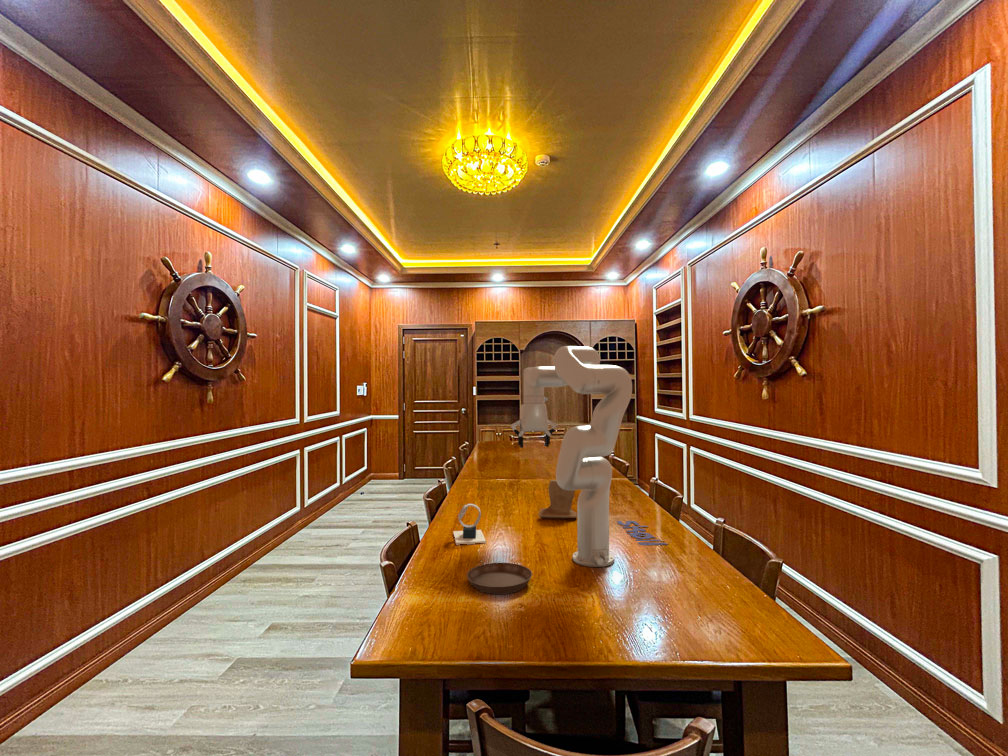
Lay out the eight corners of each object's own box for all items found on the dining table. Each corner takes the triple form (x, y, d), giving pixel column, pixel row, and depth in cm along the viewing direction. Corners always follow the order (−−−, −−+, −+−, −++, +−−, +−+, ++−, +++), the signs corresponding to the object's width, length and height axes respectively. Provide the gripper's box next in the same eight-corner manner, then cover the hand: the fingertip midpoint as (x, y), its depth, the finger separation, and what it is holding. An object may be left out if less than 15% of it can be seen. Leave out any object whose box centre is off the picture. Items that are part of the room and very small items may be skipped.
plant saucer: (459, 577, 142) (459, 566, 142) (517, 568, 148) (517, 558, 148) (478, 603, 126) (478, 590, 126) (543, 592, 132) (543, 580, 132)
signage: (615, 520, 196) (640, 520, 196) (615, 522, 196) (640, 522, 196) (638, 544, 168) (668, 543, 168) (638, 546, 168) (668, 545, 168)
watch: (458, 533, 179) (458, 502, 179) (481, 533, 179) (481, 502, 179) (457, 538, 173) (457, 506, 173) (480, 538, 173) (480, 506, 173)
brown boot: (576, 513, 208) (575, 477, 208) (577, 521, 196) (577, 483, 196) (539, 513, 210) (539, 476, 210) (538, 520, 198) (538, 482, 198)
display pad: (485, 543, 171) (485, 540, 171) (456, 545, 169) (456, 542, 169) (480, 531, 183) (480, 529, 183) (453, 533, 182) (453, 531, 182)
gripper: (553, 400, 192) (553, 445, 192) (509, 400, 189) (509, 446, 189) (559, 400, 185) (559, 447, 185) (512, 401, 182) (513, 449, 182)
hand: (534, 446), depth 187 cm, fingers open, 9 cm apart
